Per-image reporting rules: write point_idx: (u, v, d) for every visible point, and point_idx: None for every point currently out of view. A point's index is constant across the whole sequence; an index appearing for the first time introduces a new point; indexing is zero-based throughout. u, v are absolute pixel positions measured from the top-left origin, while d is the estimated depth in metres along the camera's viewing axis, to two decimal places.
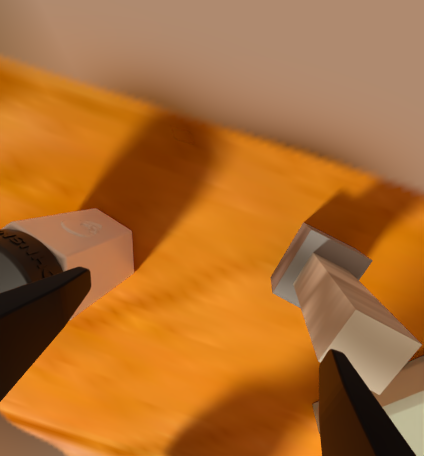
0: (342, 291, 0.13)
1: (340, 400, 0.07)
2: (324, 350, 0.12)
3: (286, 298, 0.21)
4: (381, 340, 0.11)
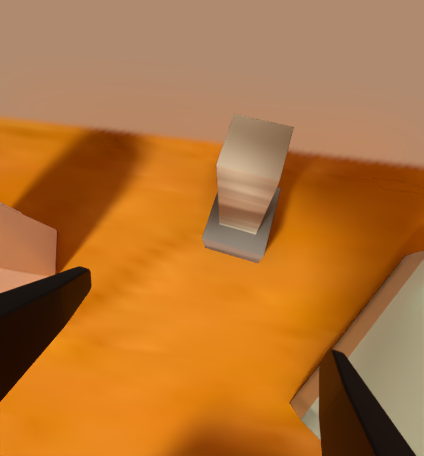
0: None
1: (340, 400, 0.07)
2: (219, 156, 0.12)
3: (216, 240, 0.20)
4: (262, 132, 0.12)
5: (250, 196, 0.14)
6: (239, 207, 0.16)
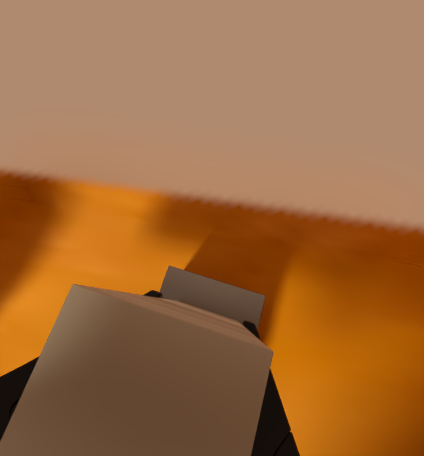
0: (123, 293, 0.06)
1: None
2: None
3: None
4: (158, 371, 0.03)
5: None
6: None
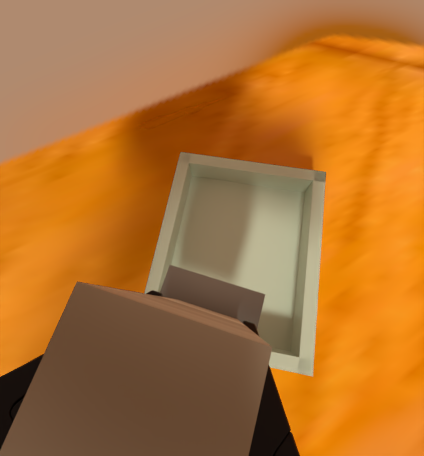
0: (125, 291, 0.06)
1: None
2: None
3: None
4: (160, 366, 0.03)
5: None
6: None
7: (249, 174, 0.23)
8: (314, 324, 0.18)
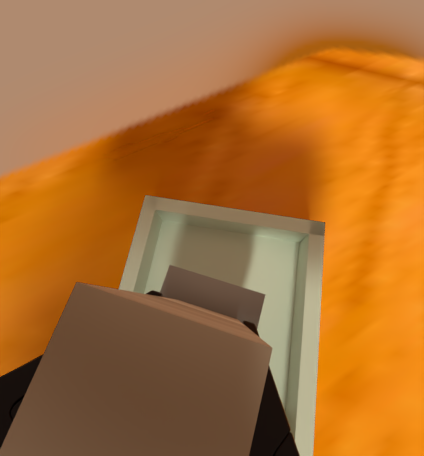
0: (125, 291, 0.06)
1: None
2: None
3: None
4: (160, 366, 0.03)
5: None
6: None
7: (230, 223, 0.18)
8: (311, 437, 0.14)
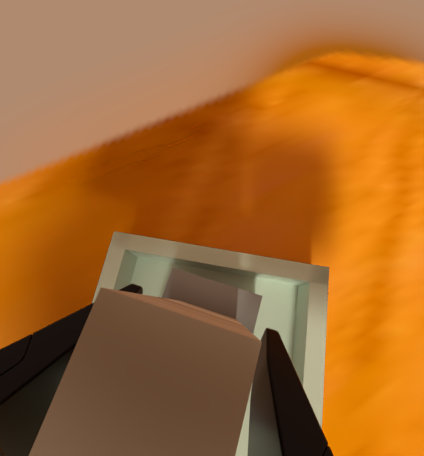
0: (136, 294, 0.06)
1: (263, 373, 0.07)
2: (41, 436, 0.04)
3: None
4: (170, 357, 0.04)
5: None
6: None
7: (215, 266, 0.15)
8: None
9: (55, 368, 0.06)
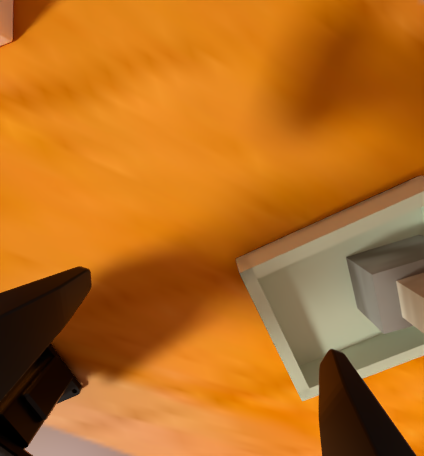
0: None
1: (340, 400, 0.07)
2: None
3: (376, 288, 0.18)
4: None
5: None
6: None
7: None
8: None
9: None
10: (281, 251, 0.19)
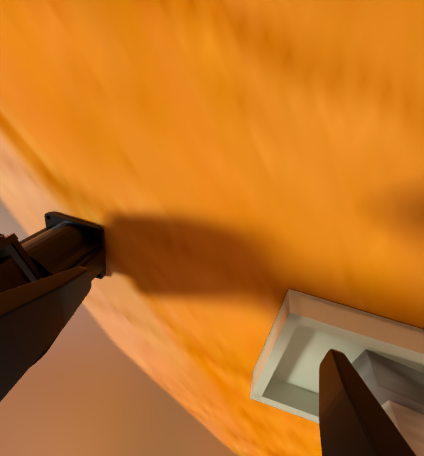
0: None
1: (340, 400, 0.07)
2: None
3: None
4: None
5: None
6: None
7: None
8: (281, 408, 0.26)
9: None
10: (332, 321, 0.21)
